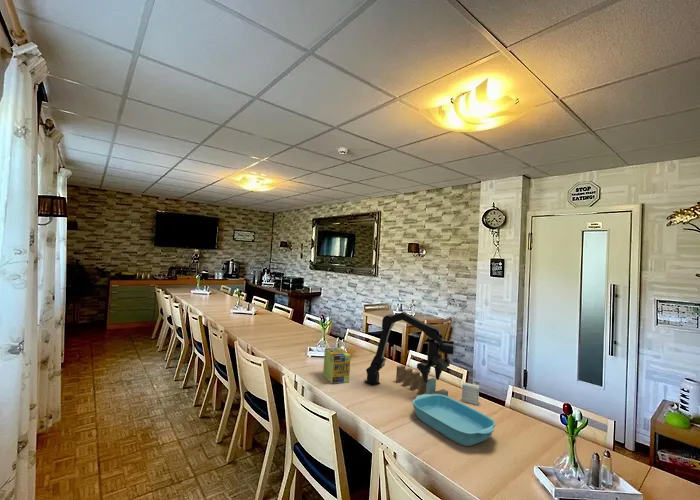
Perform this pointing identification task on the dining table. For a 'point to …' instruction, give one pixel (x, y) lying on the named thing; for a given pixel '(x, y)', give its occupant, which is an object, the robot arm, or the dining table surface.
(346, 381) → the protein box
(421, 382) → the domino
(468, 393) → the medicine box
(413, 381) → the domino
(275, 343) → the dining table surface
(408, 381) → the domino
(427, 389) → the light blue flat block
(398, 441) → the dining table surface
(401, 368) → the domino
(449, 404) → the casserole dish
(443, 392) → the end block
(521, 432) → the dining table surface
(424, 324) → the robot arm
